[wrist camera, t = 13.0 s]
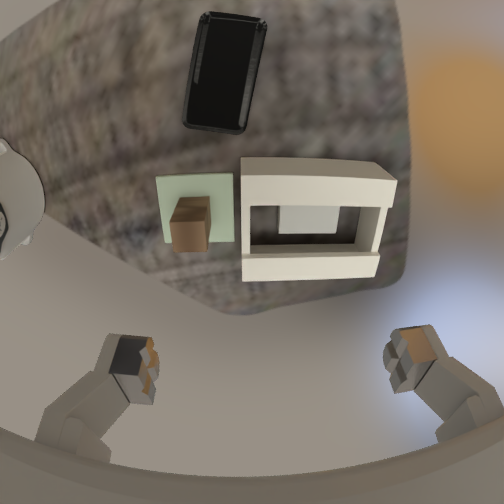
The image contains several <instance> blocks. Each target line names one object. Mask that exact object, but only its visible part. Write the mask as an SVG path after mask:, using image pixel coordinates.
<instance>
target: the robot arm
mask: <svg viewBox="0 0 504 504" xmlns="http://www.w3.org/2000/svg"><path fill="white" fill-rule="evenodd" d="M44 207H45V199H44V192H43V187H42V184H41V181H40V179H39V176H38V174H37V173H36V171H35V169H34V168H33V166H32V165H31V164H30V163H29V162H28V161H27V160H26V159H25V158H24V157H23V156H21V155H20V154H18V153H16V152H15V151H13V150H12V149H11V147H10V146H9V144H8V143H7V142H6V141H5V140H4V139H2V138H1V139H0V260H4V259H5V258H6V257H7V256H8V255H9V254H11V252H12V251H14V250H15V249H16V248H17V247H18V246H19V245H28V244H29V243H31V241H32V238H33V232H34V230H35V228H36V227H37V226H38V224H39V223H40V221H41V219H42V217H43V213H44ZM390 338H391V341H390V342H389V343H387V344H386V346H385V349H384V351H383V362H384V365H385V369H386V370H387V371H389V372H390V373H391V376H390V379H389V380H390V382H391V385H392V388H393V391H394V394H396V393H401V392H407V391H412V390H414V392H415V393H416V394H417V395H418V396H419V397H420V398H421V399H422V400H423V401H424V402H425V403H426V404H427V405H428V406H429V407H430V408H431V409H432V410H433V411H434V412H435V413H436V414H437V415H438V416H439V417H440V418H441V419H442V420H443V421H444V423H443V424H442V425H441V426H440V427H439V428H438V429H437V430H436V432H435V434H436V437H437V440H438V443H437V444H434V445H432V446H428V447H425V448H422V449H419V450H416V451H413V452H409V453H406V454H403V455H399V456H395V457H391V458H387V459H383V460H379V461H375V462H370V463H366V464H362V465H356V466H351V467H346V468H339V469H333V470H327V471H320V472H312V473H303V474H292V475H280V476H260V477H216V476H197V475H183V474H174V473H164V472H157V471H150V470H143V469H137V468H131V467H126V466H121V465H116V464H111V463H110V457H111V450H110V448H109V447H108V446H107V445H106V444H105V443H103V441H101V440H100V438H101V437H102V436H103V435H104V434H105V433H106V432H107V430H108V429H109V428H110V427H111V426H112V425H113V424H114V422H115V421H116V420H117V419H118V418H119V417H120V415H121V414H122V413H123V412H124V411H125V410H126V408H127V407H128V406H129V405H130V403H134V404H145V405H153V402H154V396H155V392H156V388H155V386H154V383H153V382H154V381H155V380H157V378H158V375H159V357H158V354H157V352H156V351H155V350H153V347H154V342H153V340H152V337H143V336H131V335H121V334H110V333H109V334H108V335H107V337H106V338H105V341H104V344H103V347H102V349H101V352H100V355H99V357H98V360H97V363H96V366H95V369H94V371H89V372H88V373H87V374H86V375H85V376H83V377H82V378H81V379H80V380H79V381H77V382H76V383H75V384H74V385H73V386H71V387H70V388H69V389H68V390H67V391H66V392H64V393H63V394H62V395H61V396H60V397H58V398H57V399H56V400H55V401H54V402H53V403H51V404H50V405H49V406H48V407H47V408H45V410H44V413H43V416H42V419H41V422H40V425H39V428H38V431H37V434H36V437H35V440H34V441H32V440H30V439H27V438H25V437H22V436H20V435H17V434H15V433H12V432H10V431H8V430H5V429H3V428H1V427H0V504H504V407H503V405H502V403H501V400H500V398H499V396H498V394H497V392H496V390H495V388H494V387H493V386H492V385H490V384H489V383H488V382H486V381H485V380H484V379H482V378H481V377H479V376H478V375H477V374H476V373H474V372H473V371H472V370H470V369H469V368H467V367H466V366H464V365H463V364H462V363H460V362H459V361H457V360H456V359H455V358H453V357H449V356H448V354H447V352H446V350H445V348H444V346H443V344H442V342H441V341H440V339H439V337H438V335H437V333H436V331H435V330H434V328H433V326H431V325H422V326H413V327H406V328H399V329H395V330H393V331H392V333H391V335H390Z"/></svg>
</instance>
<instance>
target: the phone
mask: <svg viewBox="0 0 504 504" xmlns="http://www.w3.org/2000/svg"><path fill="white" fill-rule="evenodd" d="M266 31H267V24H266V22H265V21H264V20H263V19H260V18H256V17H250V16H244V15H237V14H229V13H221V12H212V11H211V12H205V13H204V14H202V16H201V17H200V20H199V24H198V28H197V34H196V37H195V44H194V47H193V54H192V60H191V65H190V71H189V77H188V83H187V89H186V95H185V102H184V109H183V116H182V122H183V124H184V126H185V127H187V128H190V129H198V130H206V131H213V132H220V133H227V134H234V135H239V134H241V133H243V132H244V131H245V129H246V126H247V121H248V116H249V111H250V106H251V101H252V96H253V91H254V87H255V82H256V77H257V72H258V68H259V63H260V58H261V54H262V49H263V45H264V40H265V36H266Z"/></svg>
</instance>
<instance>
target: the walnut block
mask: <svg viewBox="0 0 504 504" xmlns="http://www.w3.org/2000/svg"><path fill="white" fill-rule="evenodd" d="M169 226H170V232H171V239H172V245H173V251H174V252H207V249H208V242H209V236H210V229H211V210H210V196H203V197H180V198H179V200H178V202H177V205H176V207H175V209H174V212H173V214H172V217H171V219H170V221H169Z"/></svg>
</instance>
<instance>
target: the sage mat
mask: <svg viewBox="0 0 504 504" xmlns="http://www.w3.org/2000/svg"><path fill="white" fill-rule="evenodd" d="M156 184H157V192H158V199H159V207H160V214H161V220H162V227H163V233H164V239H165V243H172V239H171V232H170V226H169V221H170V219H171V217H172V214H173V212H174V209H175V207H176V205H177V202H178V200H179V198H180V197H203V196H210V210H211V229H210V236H209V242H234V240H235V239H234V201H233V172H227V173H197V174H176V175H160V176H156Z"/></svg>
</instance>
